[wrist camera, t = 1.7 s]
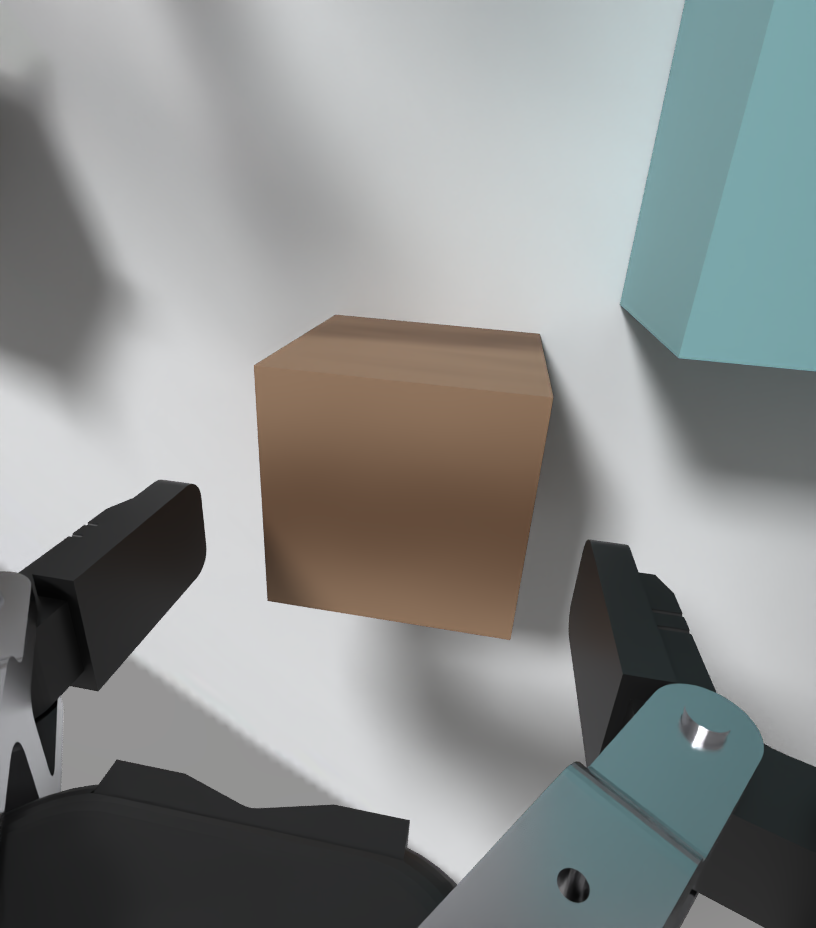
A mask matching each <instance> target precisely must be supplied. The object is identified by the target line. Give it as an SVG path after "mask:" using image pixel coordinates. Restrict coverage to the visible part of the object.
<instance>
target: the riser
mask: <svg viewBox="0 0 816 928" xmlns="http://www.w3.org/2000/svg"><path fill="white" fill-rule="evenodd" d="M620 305H621V306H622V307H623V308H624V309H626V310H627V311H628V312H629V313H630V314H631V315H632V316H633V317H634V318H635V319H636V320H637V321H639V322H640V323H641V324H642V325H643V326H644V327H645V328H646V329H647V330H648V331H649V332H650V333H652V334H653V335H654V336H655V337H656V338H657V339H658V340H659V341H660V342H661V343H662V344H664V345H665V346H666V347H667V348H668V349H669V350H670V351H671V352H672V353H673V354H674V355H675V356H677V357H678V358H682V359H692V360H702V361H713V362H723V363H734V364H744V365H754V366H765V367H775V368H786V369H796V370H806V371H816V0H685V4H684V9H683V14H682V18H681V23H680V28H679V32H678V37H677V42H676V46H675V51H674V56H673V60H672V65H671V70H670V74H669V79H668V84H667V88H666V93H665V98H664V102H663V107H662V111H661V116H660V121H659V125H658V130H657V135H656V139H655V144H654V149H653V153H652V158H651V163H650V167H649V172H648V177H647V181H646V186H645V191H644V195H643V200H642V204H641V209H640V214H639V218H638V223H637V228H636V232H635V237H634V242H633V246H632V251H631V256H630V260H629V265H628V270H627V274H626V279H625V284H624V288H623V293H622V298H621V302H620Z"/></svg>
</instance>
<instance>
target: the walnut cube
mask: <svg viewBox="0 0 816 928" xmlns="http://www.w3.org/2000/svg"><path fill="white" fill-rule="evenodd" d="M254 376H255V393H256V410H257V427H258V444H259V461H260V478H261V495H262V512H263V529H264V546H265V564H266V581H267V598H268V601H272V602H278V603H284V604H290V605H296V606H303V607H309V608H315V609H321V610H327V611H334V612H340V613H346V614H352V615H358V616H365V617H371V618H377V619H383V620H389V621H396V622H402V623H408V624H414V625H420V626H427V627H433V628H439V629H445V630H451V631H458V632H464V633H470V634H476V635H482V636H489V637H495V638H501V639H507V640H510V639H511V633H512V627H513V622H514V616H515V610H516V605H517V599H518V594H519V588H520V582H521V577H522V571H523V565H524V560H525V554H526V549H527V543H528V537H529V532H530V526H531V521H532V515H533V509H534V504H535V498H536V492H537V487H538V481H539V476H540V470H541V464H542V459H543V453H544V447H545V442H546V436H547V431H548V425H549V419H550V414H551V408H552V402H553V393H552V389H551V384H550V380H549V375H548V371H547V366H546V361H545V357H544V352H543V348H542V343H541V338H540V334H535V333H524V332H514V331H503V330H492V329H482V328H471V327H460V326H450V325H439V324H428V323H418V322H407V321H396V320H386V319H375V318H364V317H354V316H343V315H334V316H333V317H331V318H329V319H328V320H326V321H325V322H323V323H321V324H320V325H318V326H317V327H315V328H313V329H312V330H310V331H309V332H307V333H305V334H304V335H302V336H301V337H299V338H297V339H296V340H294V341H292V342H291V343H289V344H288V345H286V346H284V347H283V348H281V349H280V350H278V351H276V352H275V353H273V354H272V355H270V356H268V357H267V358H265V359H263V360H262V361H260V362H259V363H257V364H255V365H254Z"/></svg>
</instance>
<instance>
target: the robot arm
mask: <svg viewBox="0 0 816 928" xmlns="http://www.w3.org/2000/svg"><path fill="white" fill-rule="evenodd" d="M205 558H206V539H205V530H204V520H203V510H202V500H201V493H200V490H199V488H198V487H197V486H196V485H195V484H189V483H182V482H175V481H167V480H157V481H156V482H154V483H153V484H151V485H150V486H149V487H147V488H146V489H145V490H143V491H142V492H141V493H139V494H138V495H137V496H135V497H134V498H133V499H129V500H127V501H125V502H122V503H120V504H117V505H115V506H112V507H110V508H108V509H106V510H104V511H103V512H102V513H100V514H99V515H97V516H96V517H95V518H93V519H92V520H91V521H89V522H88V525H84V526H82V527H81V528H80V529H78V530H77V531H75V532H74V533H73V535H72V537H67V538H66V539H64V540H63V541H62V542H60V543H59V544H58V545H56V546H55V547H53V548H52V549H51V550H49V551H48V552H47V553H45V554H44V555H42V556H41V557H40V558H38V559H37V560H36V561H34V562H33V563H31V564H30V565H29V566H27V567H26V568H25V569H23V570H22V571H20V572H19V573H16V572H3V571H2V572H0V928H680V927H681V925H682V923H683V921H684V919H685V917H686V915H687V914H688V912H689V910H690V908H691V906H692V904H693V902H694V901H695V899H696V897H697V895H698V893H700V894H702V895H704V896H706V897H708V898H710V899H712V900H714V901H716V902H718V903H719V904H721V905H724V906H725V907H727V908H729V909H731V910H732V911H734V912H736V913H738V914H740V915H742V916H744V917H746V918H747V919H749V920H751V921H753V922H755V923H757V924H759V925H761V926H763V927H764V928H816V767H814V766H812V765H809V764H807V763H804V762H802V761H800V760H797V759H795V758H792V757H790V756H787V755H785V754H783V753H781V752H779V751H776V750H774V749H772V748H771V747H769V746H767V745H765V744H763V739H762V736H761V734H760V732H759V730H758V728H757V727H756V725H755V724H754V722H753V721H752V720H751V719H750V718H749V716H748V715H747V714H746V713H745V712H743V711H742V710H741V709H740V708H739V707H738V706H736V705H735V704H734V703H733V702H731V701H729V700H728V699H726V698H725V697H723V696H721V695H719V694H717V693H716V691H715V688H714V686H713V684H712V681H711V679H710V677H709V674H708V672H707V670H706V667H705V665H704V663H703V660H702V658H701V656H700V653H699V651H698V649H697V646H696V644H695V642H694V639H693V637H692V635H691V634H689V628H688V625H687V623H686V621H685V618H684V617H682V611H681V609H680V607H679V604H678V602H677V600H676V597H675V595H674V593H673V592H672V591H671V590H670V589H669V588H668V587H667V586H666V585H665V584H664V583H663V582H662V581H661V580H660V579H659V578H658V577H657V576H656V575H653V574H646V573H639V572H638V570H637V567H636V564H635V561H634V558H633V556H632V553H631V550H630V548H629V546H628V545H625V544H617V543H610V542H603V541H596V540H587V541H586V543H585V546H584V549H583V553H582V558H581V562H580V567H579V571H578V575H577V580H576V584H575V589H574V593H573V598H572V602H571V607H570V614H569V640H570V648H571V655H572V662H573V670H574V677H575V684H576V692H577V699H578V706H579V714H580V721H581V728H582V736H583V743H584V750H585V758H586V765H587V768H586V767H585V766H584V765H583V764H581V763H580V762H574V763H572V764H571V765H569V766H568V767H567V768H566V769H565V770H564V771H563V772H562V773H561V774H560V775H559V776H558V777H557V778H556V779H555V780H554V781H553V782H552V784H551V785H550V786H549V787H548V788H547V789H546V790H545V791H544V792H543V793H542V794H541V795H540V796H539V798H538V799H537V800H536V801H535V802H534V803H533V804H532V805H531V806H530V807H529V808H528V809H527V810H526V811H525V813H524V814H523V815H522V816H521V817H520V818H519V819H518V820H517V821H516V822H515V823H514V824H513V825H512V827H511V828H510V829H509V830H508V831H507V832H506V833H505V834H504V835H503V836H502V837H501V838H500V839H499V841H498V842H497V843H496V844H495V845H494V846H493V847H492V848H491V849H490V850H489V851H488V852H487V853H486V855H485V856H484V857H483V858H482V859H481V860H480V861H479V862H478V863H477V864H476V865H475V866H474V867H473V869H472V870H471V871H470V872H469V873H468V874H467V875H466V876H465V877H464V878H463V879H462V880H461V881H460V883H459V884H458V885H457V884H456V883H455V882H454V881H453V880H452V879H451V878H450V877H449V876H448V875H447V874H446V873H444V872H443V871H442V870H441V869H440V868H439V867H437V866H436V865H435V864H433V863H432V862H430V861H429V860H427V859H426V858H425V857H423V856H422V855H420V854H418V853H416V852H414V851H412V850H411V849H409V848H407V844H408V834H409V824H410V820H405V819H401V818H396V817H391V816H386V815H381V814H377V813H372V812H367V811H362V810H357V809H352V808H348V807H343V806H338V805H318V806H299V807H279V808H249V807H245V806H243V805H241V804H239V803H238V802H236V801H234V800H232V799H230V798H229V797H227V796H225V795H223V794H221V793H219V792H218V791H216V790H214V789H212V788H210V787H208V786H206V785H205V784H203V783H201V782H199V781H197V780H195V779H194V778H192V777H190V776H188V775H186V774H183V773H179V772H174V771H169V770H164V769H160V768H155V767H150V766H145V765H140V764H136V763H131V762H126V761H121V760H116V761H115V763H114V764H113V766H112V767H111V768H110V770H109V771H108V772H107V774H106V775H105V777H104V778H103V780H102V781H101V782H100V783H99V785H91V786H84V787H78V788H73V789H69V790H66V791H62V792H61V780H62V748H63V746H62V745H63V715H64V711H63V710H64V709H63V703H62V699H61V695H62V694H63V693H64V692H65V691H66V689H67V688H68V687H69V686H73V687H79V688H83V689H89V690H94V691H99V690H100V689H101V688H102V686H103V685H104V684H105V683H106V682H107V681H108V679H109V678H110V677H111V676H112V675H113V674H114V672H115V671H116V670H117V669H118V668H119V667H120V666H121V664H122V663H123V662H124V661H125V660H126V659H127V658H128V656H129V655H130V654H131V653H132V652H133V651H134V650H135V648H136V647H137V646H138V645H139V644H140V643H141V641H142V640H143V639H144V638H145V637H146V636H147V635H148V633H149V632H150V631H151V630H152V629H153V628H154V626H155V625H156V624H157V623H158V622H159V621H160V620H161V618H162V617H163V616H164V615H165V614H166V613H167V611H168V610H169V609H170V608H171V607H172V606H173V605H174V603H175V602H176V601H177V600H178V599H179V598H180V596H181V595H182V594H183V593H184V592H185V591H186V590H187V588H188V587H189V586H190V585H191V584H192V583H193V581H194V580H195V579H196V578H197V577H198V575H199V574H200V572H201V570H202V568H203V565H204V562H205Z"/></svg>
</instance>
